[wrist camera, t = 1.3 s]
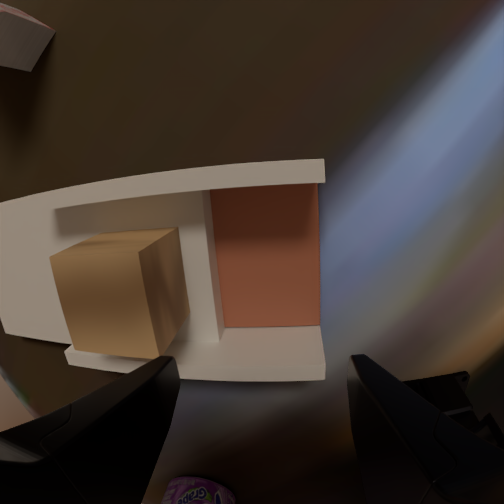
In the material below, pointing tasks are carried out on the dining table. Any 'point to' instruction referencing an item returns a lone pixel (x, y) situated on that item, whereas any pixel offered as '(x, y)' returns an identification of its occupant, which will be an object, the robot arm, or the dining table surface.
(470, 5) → the dining table surface
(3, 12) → the grey box
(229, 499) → the beverage can
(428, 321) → the dining table surface
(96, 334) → the oak block
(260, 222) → the trap channel
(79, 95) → the dining table surface
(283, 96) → the dining table surface
